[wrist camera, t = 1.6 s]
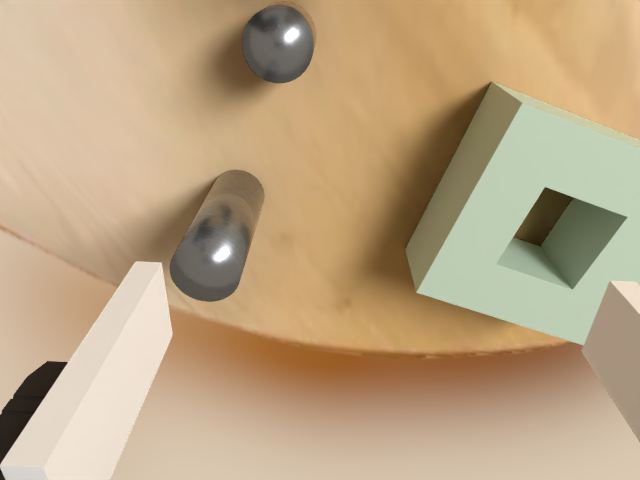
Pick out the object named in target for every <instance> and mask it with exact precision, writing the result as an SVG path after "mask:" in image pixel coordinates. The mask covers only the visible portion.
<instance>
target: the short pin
mask: <svg viewBox="0 0 640 480" xmlns="http://www.w3.org/2000/svg"><path fill="white" fill-rule="evenodd" d="M315 42H316V30H315V26H314V23H313V21H312V19H311V17H310V16H309V14H308V13H307V12H306V11H305V10H304V9H303V8H302V7H300V6H298V5H296V4H294V3H291V2H278V3H275V4H272V5H270V6H268V7H267V8H265V9H263V10H261V11H260V12H258V13H257V14H255V15H254V16H253V17H252V18H251V19H250V21H249V22H248V24H247V25H246V27H245V30H244V33H243V38H242V49H243V54H244V57H245V60H246V62H247V64H248V65H249V67H250V68H251V70H252V71H253V72H254V73H255V74H256V75H258V76H259V77H260V78H262V79H264V80H266V81H269V82H273V83H286V82H290V81H292V80H294V79H296V78H298V77H299V76H300V75H301V74H302V73H303V72H304V71H305V70H306V69H307V67H308V65H309V64H310V61H311V58H312V54H313V50H314V46H315Z"/></svg>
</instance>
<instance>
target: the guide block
mask: <svg viewBox="0 0 640 480" xmlns="http://www.w3.org/2000/svg"><path fill="white" fill-rule="evenodd" d="M545 187H547V188H549V189H552V190H555V191H557V192H560V193H563V194H566V195H568V196H571V197H573V199H572V200H571V202H570V203H569V205H568V206H567V208H566V209H565V211H564V212H563V214H562V215H561V217H560V218H559V220H558V221H557V222H556V224H555V225H554V227H553V228H552V230H551V231H550V233H549V234H548V236H547V237H546V239H545V240H544V242H543V243H542V245H541V246H537V245H534V244H531V243H529V242H526V241H523V240H520V239H517V238H514V237H513V236H514V235H515V233H516V232H517V230H518V229H519V227H520V226H521V224H522V222H523V221H524V219H525V218H526V216H527V215H528V213H529V211H530V210H531V208H532V207H533V205H534V204H535V202H536V200H537V199H538V197H539V196H540V194H541V193H542V191H543V189H544V188H545ZM405 251H406V255H407V259H408V262H409V266H410V270H411V274H412V278H413V282H414V286H415V290H416V293H419V294H422V295H425V296H429V297H432V298H435V299H438V300H441V301H444V302H448V303H451V304H454V305H457V306H460V307H464V308H467V309H470V310H473V311H476V312H479V313H483V314H486V315H489V316H492V317H495V318H498V319H502V320H505V321H508V322H511V323H514V324H517V325H521V326H524V327H527V328H530V329H533V330H537V331H540V332H543V333H546V334H549V335H552V336H556V337H559V338H562V339H565V340H568V341H571V342H575V343H578V344H581V345H584V343H585V341H586V338H587V336H588V334H589V331H590V329H591V326H592V324H593V321H594V319H595V316H596V314H597V311H598V309H599V306H600V304H601V301H602V299H603V296H604V294H605V291H606V289H607V286H608V284H609V281H634V282H637V283H638V284H639V285H640V140H639V139H636V138H634V137H631V136H629V135H626V134H624V133H621V132H619V131H616V130H614V129H611V128H608V127H606V126H603V125H601V124H598V123H596V122H593V121H591V120H588V119H586V118H583V117H581V116H578V115H575V114H573V113H570V112H568V111H565V110H563V109H560V108H558V107H555V106H553V105H550V104H548V103H545V102H542V101H540V100H537V99H535V98H532V97H530V96H527V95H525V94H522V93H520V92H517V91H515V90H512V89H510V88H507V87H504V86H502V85H499V84H497V83H494V82H491V84H490V86H489V88H488V90H487V92H486V94H485V96H484V98H483V100H482V102H481V104H480V106H479V107H478V109H477V111H476V113H475V115H474V117H473V119H472V121H471V123H470V125H469V127H468V129H467V131H466V133H465V135H464V136H463V138H462V140H461V142H460V144H459V146H458V148H457V150H456V152H455V154H454V156H453V158H452V160H451V162H450V164H449V165H448V167H447V169H446V171H445V173H444V175H443V177H442V179H441V181H440V183H439V185H438V187H437V189H436V191H435V193H434V195H433V196H432V198H431V200H430V202H429V204H428V206H427V208H426V210H425V212H424V214H423V216H422V218H421V220H420V222H419V224H418V225H417V227H416V229H415V231H414V233H413V235H412V237H411V239H410V241H409V243H408V245H407V247H406V249H405Z"/></svg>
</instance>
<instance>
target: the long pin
mask: <svg viewBox="0 0 640 480" xmlns="http://www.w3.org/2000/svg"><path fill="white" fill-rule="evenodd" d="M263 202H264V190H263V187H262V185H261V184H260V182H259V181H258V180H257V179H256V178H255V177H254V176H253V175H251V174H250V173H248V172H245V171H241V170H231V171H227V172H225V173H223V174H221V175H220V176H219V177H218V178H217V179H216V181H215V182H214V184H213V186H212V188H211V189H210V191H209V193H208V195H207V197H206V198H205V200H204V202H203V204H202V205H201V207H200V209H199V211H198V213H197V214H196V216H195V218H194V220H193V222H192V223H191V225H190V227H189V229H188V230H187V232H186V234H185V236H184V238H183V239H182V241H181V243H180V245H179V246H178V248H177V250H176V252H175V254H174V255H173V257H172V259H171V262H170V274H171V277H172V280H173V282H174V283H175V285H176V286H177V287H178V288H179V289H180V290H181V291H182V292H183V293H185V294H186V295H188V296H189V297H192V298H194V299H197V300H201V301H218V300H222V299H224V298H226V297H228V296H230V295H231V294H232V293H233V292H234V291H235V290H236V288H237V287H238V284H239V281H240V278H241V275H242V272H243V268H244V265H245V262H246V258H247V255H248V252H249V248H250V245H251V242H252V238H253V235H254V232H255V228H256V225H257V222H258V219H259V215H260V212H261V209H262V205H263Z"/></svg>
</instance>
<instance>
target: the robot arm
mask: <svg viewBox="0 0 640 480" xmlns="http://www.w3.org/2000/svg"><path fill="white" fill-rule="evenodd" d="M172 335H173V334H172V327H171V321H170V314H169V308H168V301H167V295H166V288H165V281H164V275H163V268H162V262H138V261H135V263H134V264H133V266H132V267H131V269H130V270H129V272H128V273H127V275H126V276H125V278H124V279H123V281H122V282H121V284H120V285H119V287H118V288H117V290H116V292H115V293H114V294H113V296H112V298H111V299H110V300H109V302H108V303H107V305H106V307H105V308H104V309H103V311H102V313H101V314H100V315H99V317H98V318H97V320H96V321H95V323H94V324H93V326H92V328H91V329H90V330H89V332H88V333H87V335H86V336H85V338H84V339H83V341H82V342H81V344H80V345H79V347H78V348H77V350H76V351H75V353H74V355H73V356H72V357H71V359H70V360H69V362H52V361H47V362H46V363H45V364H43V365H42V366H41V367H39V368H38V369H37V370H36V371H34V372H33V373H32V374H30V375H29V376H28V377H27V378H26V379H25V380H24V382H23V383H22V385H21V386H20V387H19V388H18V390H17V391H16V393H15V394H14V397H13V399H10V401H9V402H8V403H7V405H6V406H5V407H4V409H3V410H2V414H1V415H0V480H110V479H111V476H112V474H113V472H114V469H115V467H116V465H117V462H118V460H119V458H120V456H121V453H122V451H123V449H124V446H125V444H126V442H127V439H128V437H129V435H130V432H131V430H132V428H133V426H134V423H135V421H136V419H137V416H138V414H139V412H140V409H141V407H142V405H143V402H144V400H145V398H146V395H147V393H148V391H149V389H150V386H151V384H152V382H153V379H154V377H155V374H156V372H157V370H158V368H159V365H160V363H161V361H162V358H163V356H164V354H165V352H166V349H167V347H168V345H169V342H170V340H171V338H172ZM581 352H582V354H583V355H584V357H585V358H586V360H587V361H588V363H589V364H590V366H591V367H592V369H593V370H594V372H595V374H596V375H597V377H598V378H599V380H600V381H601V383H602V384H603V386H604V387H605V389H606V391H607V392H608V394H609V395H610V397H611V398H612V399H613V401H614V403H615V404H616V406H617V407H618V409H619V410H620V412H621V414H622V415H623V417H624V418H625V420H626V421H627V423H628V424H629V426H630V427H631V429H632V431H633V432H634V434H635V435H636V437H637V438H638V440H639V441H640V285H639V284H638V283H637V282H634V281H609V284H608V286H607V289H606V291H605V294H604V296H603V299H602V301H601V304H600V306H599V309H598V311H597V314H596V316H595V319H594V321H593V324H592V326H591V329H590V331H589V334H588V336H587V338H586V341H585V343H584V346H583V348H582V351H581Z"/></svg>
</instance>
